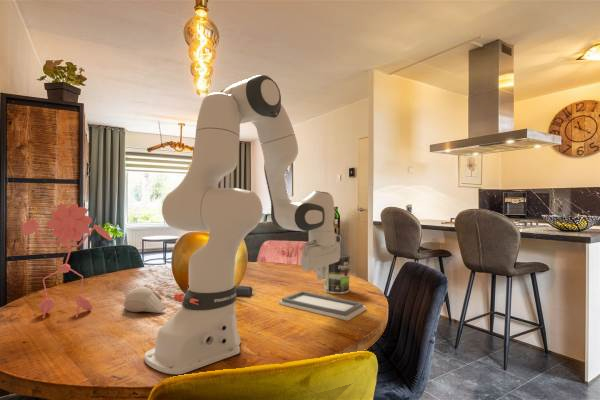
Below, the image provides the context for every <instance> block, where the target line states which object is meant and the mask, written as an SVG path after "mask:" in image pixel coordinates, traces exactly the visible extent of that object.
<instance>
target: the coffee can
mask: <svg viewBox="0 0 600 400" xmlns="http://www.w3.org/2000/svg"><path fill="white" fill-rule="evenodd" d="M323 280H324V282H323V284H324V285H323V291H324V292H325V293H328V294H332V295H333V294H334V295H344V294H347V293H349V292H350V255H348V254H345V253H344V254H343V253H340V259H339V261H338V262H336V263H333V264H330V265H328V269H327V272H326V278H325V279H323Z"/></svg>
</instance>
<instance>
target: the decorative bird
mask: <svg viewBox="0 0 600 400" xmlns="http://www.w3.org/2000/svg"><path fill="white" fill-rule="evenodd" d="M124 297H125V298H124V304H123V306H124V308H125V310H127V311H129V312H132V313H140V312H146V313H156V314H157V313H159V314H160V313H162V312H163V311H165V310H166V309H167V306H166V305H165V304H164V302H162V297H161V295H160V294H159V293H158V292H156V291H154V290H153V289H150V288H149V287H146V286H138V287H135V288H133V289H131V290H130V291H128V293H127V294H126V293H125V295H124Z"/></svg>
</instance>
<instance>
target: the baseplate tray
mask: <svg viewBox="0 0 600 400" xmlns="http://www.w3.org/2000/svg"><path fill="white" fill-rule="evenodd" d="M278 305H281V306H284V307H285V306H286V307H290V308H292V309H293V308H294V309H297V310H298V309H299V310H302V311H304V312H305V311H306V312H309V313H314V314H318V315H322V316H327V317H331V318H336V319H340V320H344V321H348V322H349V320H351V319H353V318H354V317H356V316H358V315H359V314H361V313H363V312H364V311H366V310H367V306H366V305H364V304H363V302H358V301H355V300H349V299H345V298H338V297H334V296H328V295H323V294H319V293H314V292H309V291H303V290H300V291H298V292H296V293H293V294H290V295H287V296H285V297H281V299H280V300H278Z"/></svg>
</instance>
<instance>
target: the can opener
mask: <svg viewBox="0 0 600 400" xmlns="http://www.w3.org/2000/svg"><path fill="white" fill-rule="evenodd" d="M237 286H238V287H237V288H236V296H241V297H249V296H250V295H252V294H253V287H252V286H248V285H237Z"/></svg>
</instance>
